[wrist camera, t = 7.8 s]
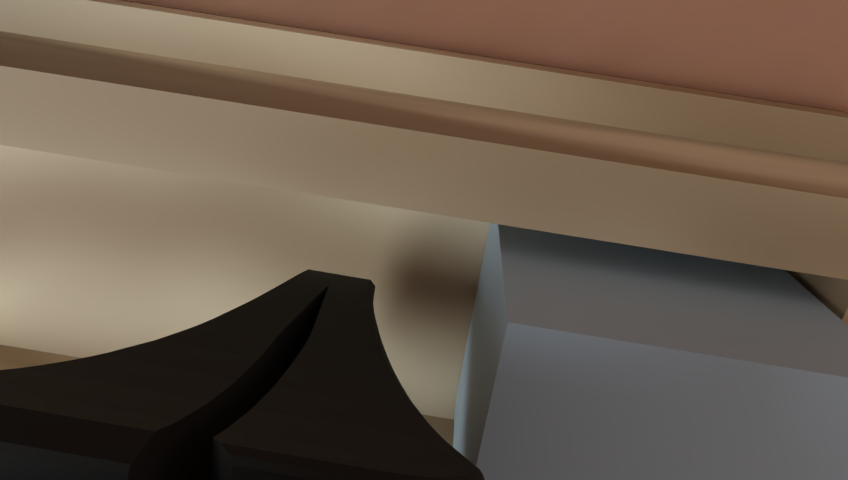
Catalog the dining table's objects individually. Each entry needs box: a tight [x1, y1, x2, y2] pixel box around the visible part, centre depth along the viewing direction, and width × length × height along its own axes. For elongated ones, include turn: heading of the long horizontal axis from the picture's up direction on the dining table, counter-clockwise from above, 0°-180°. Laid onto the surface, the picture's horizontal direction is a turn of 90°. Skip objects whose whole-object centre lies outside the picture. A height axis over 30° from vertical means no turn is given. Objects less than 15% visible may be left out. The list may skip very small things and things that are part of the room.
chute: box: [0, 0, 848, 447], centre depth 12 cm, size 10×19×4 cm, turn 82°
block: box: [453, 223, 848, 480], centre depth 11 cm, size 5×5×5 cm
